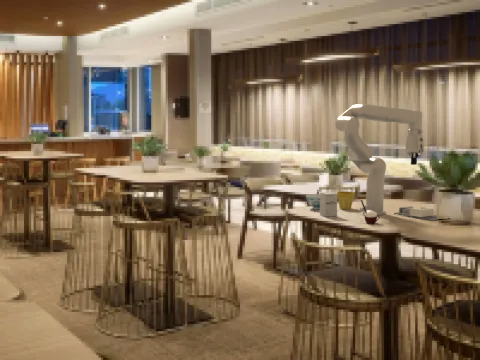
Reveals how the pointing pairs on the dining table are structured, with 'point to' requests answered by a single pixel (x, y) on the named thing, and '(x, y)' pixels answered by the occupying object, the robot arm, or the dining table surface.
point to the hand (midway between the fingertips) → (413, 164)
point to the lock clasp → (422, 212)
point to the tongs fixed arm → (404, 210)
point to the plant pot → (345, 199)
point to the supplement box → (328, 204)
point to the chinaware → (314, 200)
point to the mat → (431, 218)
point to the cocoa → (370, 215)
